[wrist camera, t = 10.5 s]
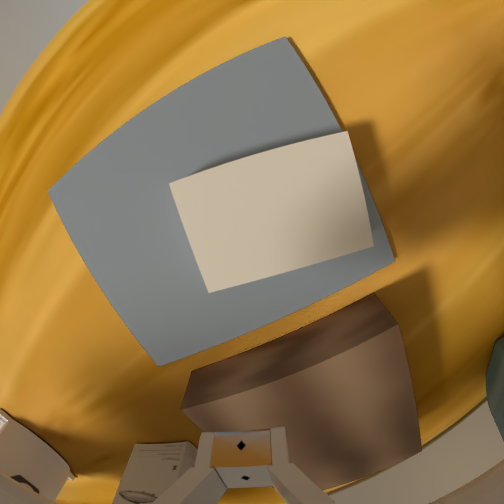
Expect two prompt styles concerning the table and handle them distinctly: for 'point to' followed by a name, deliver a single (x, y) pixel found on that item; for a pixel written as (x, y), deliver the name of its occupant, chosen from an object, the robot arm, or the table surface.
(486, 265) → the table surface
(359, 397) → the board
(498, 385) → the flower pot
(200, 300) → the mat
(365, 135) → the table surface
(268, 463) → the robot arm
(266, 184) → the beige rectangular block
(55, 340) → the table surface
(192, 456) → the supplement box
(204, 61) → the table surface
